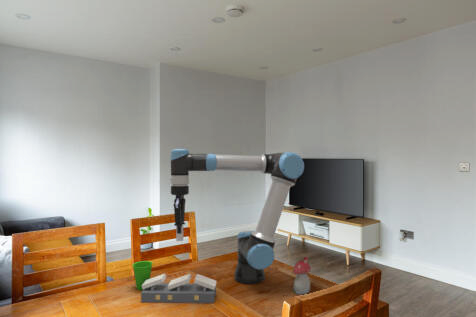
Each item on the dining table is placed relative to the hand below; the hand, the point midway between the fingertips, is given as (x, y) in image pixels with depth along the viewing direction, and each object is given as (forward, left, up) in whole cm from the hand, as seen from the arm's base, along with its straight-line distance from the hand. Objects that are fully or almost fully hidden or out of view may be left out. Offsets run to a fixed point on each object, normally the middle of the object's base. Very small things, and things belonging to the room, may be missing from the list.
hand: (179, 240), depth 134 cm
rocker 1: (+11, 0, -18) cm, 21 cm away
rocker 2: (0, 0, -18) cm, 18 cm away
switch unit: (0, 0, -24) cm, 24 cm away
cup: (+19, -9, -25) cm, 32 cm away
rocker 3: (-11, 0, -18) cm, 21 cm away
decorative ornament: (-53, -7, -25) cm, 59 cm away
